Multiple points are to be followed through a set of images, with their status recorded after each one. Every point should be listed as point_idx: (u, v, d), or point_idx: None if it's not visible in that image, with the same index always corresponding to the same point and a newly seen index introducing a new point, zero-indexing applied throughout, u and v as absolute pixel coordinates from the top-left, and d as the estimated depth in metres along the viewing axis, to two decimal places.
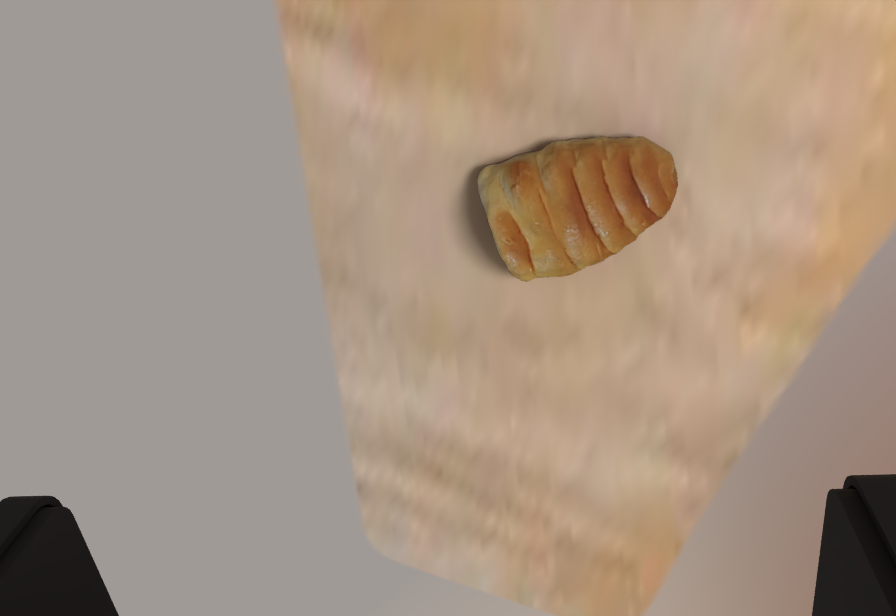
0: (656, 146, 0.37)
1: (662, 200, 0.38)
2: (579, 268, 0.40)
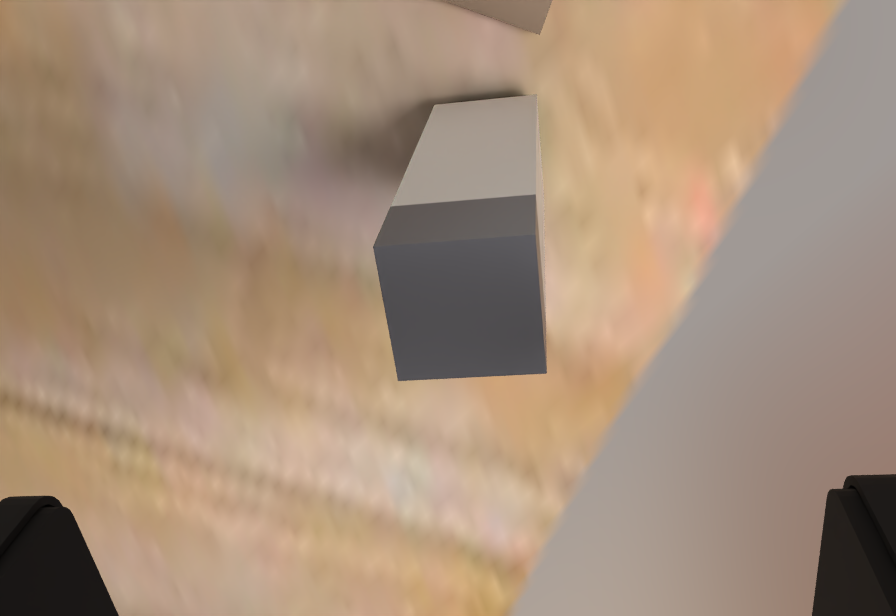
0: None
1: None
2: None
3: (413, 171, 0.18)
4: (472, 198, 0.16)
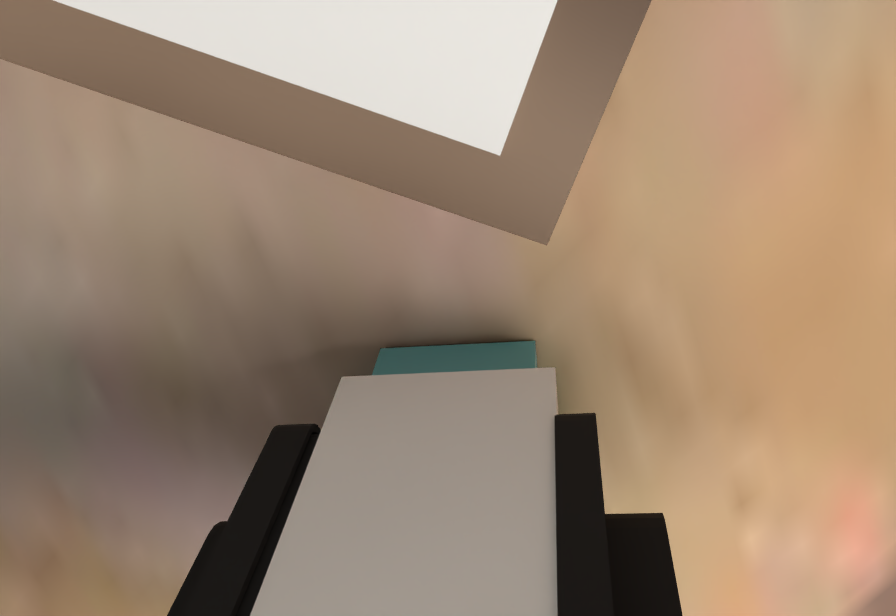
0: None
1: None
2: None
3: None
4: None
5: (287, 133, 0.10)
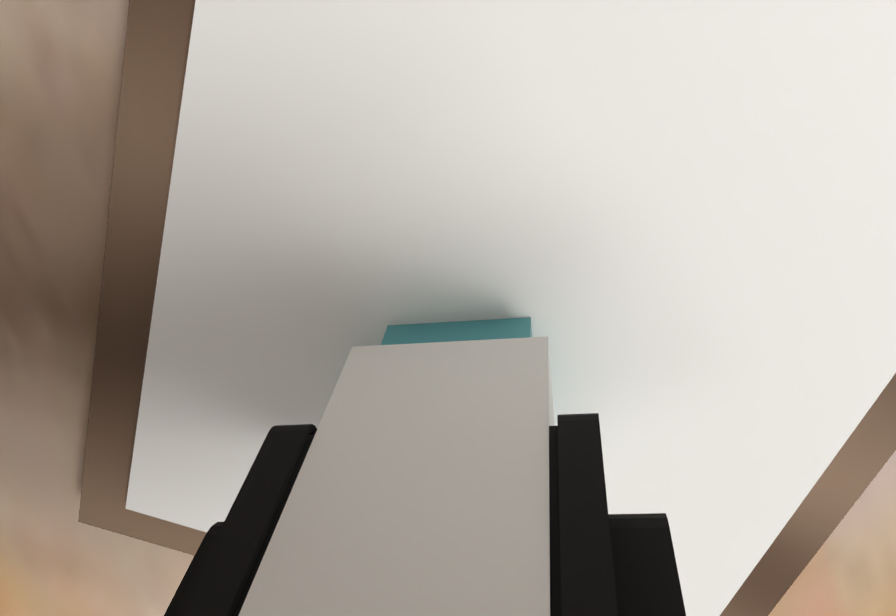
0: None
1: None
2: None
3: None
4: None
5: None
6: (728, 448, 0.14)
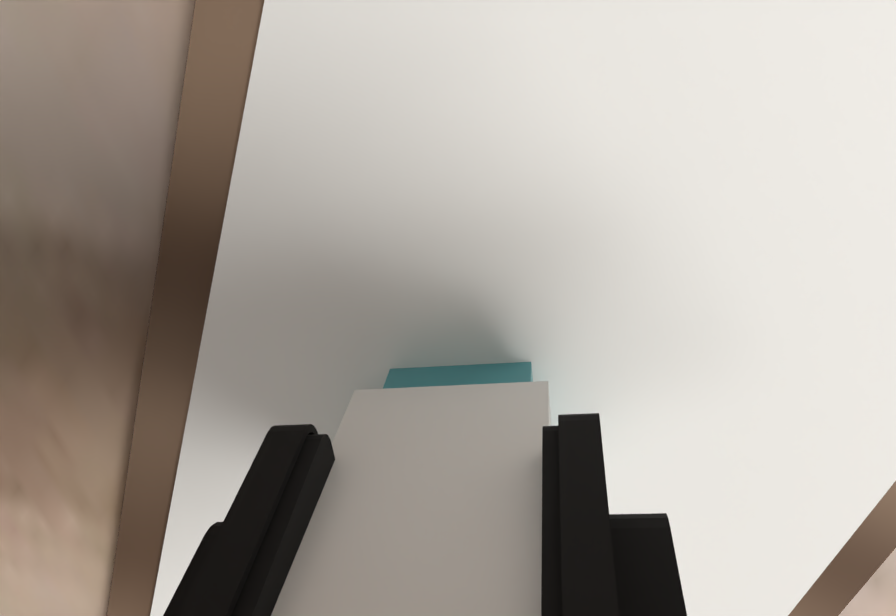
0: None
1: None
2: None
3: None
4: None
5: None
6: None
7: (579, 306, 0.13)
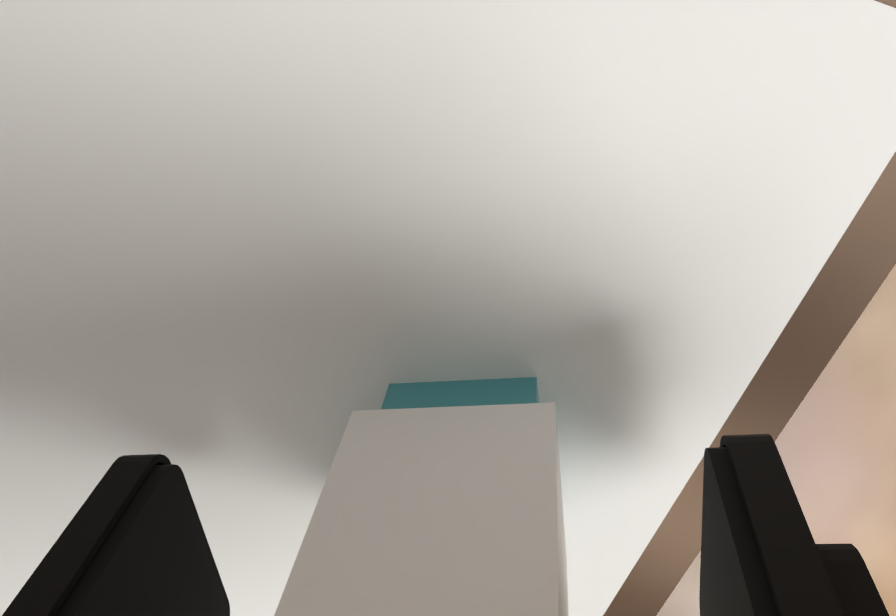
0: None
1: None
2: None
3: None
4: None
5: None
6: None
7: (328, 369, 0.13)
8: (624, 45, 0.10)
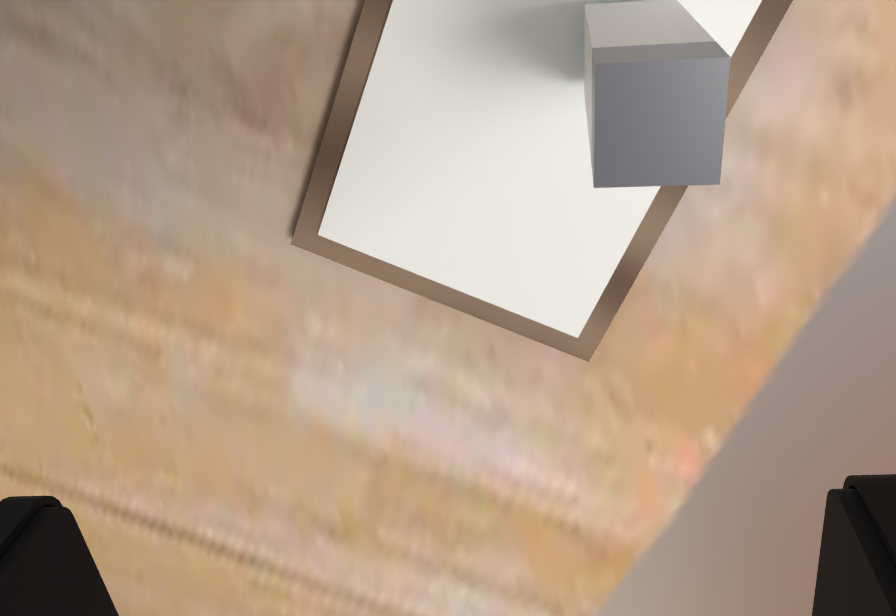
0: None
1: None
2: None
3: (596, 33, 0.22)
4: (661, 43, 0.20)
5: (516, 326, 0.35)
6: (599, 209, 0.32)
7: None
8: None
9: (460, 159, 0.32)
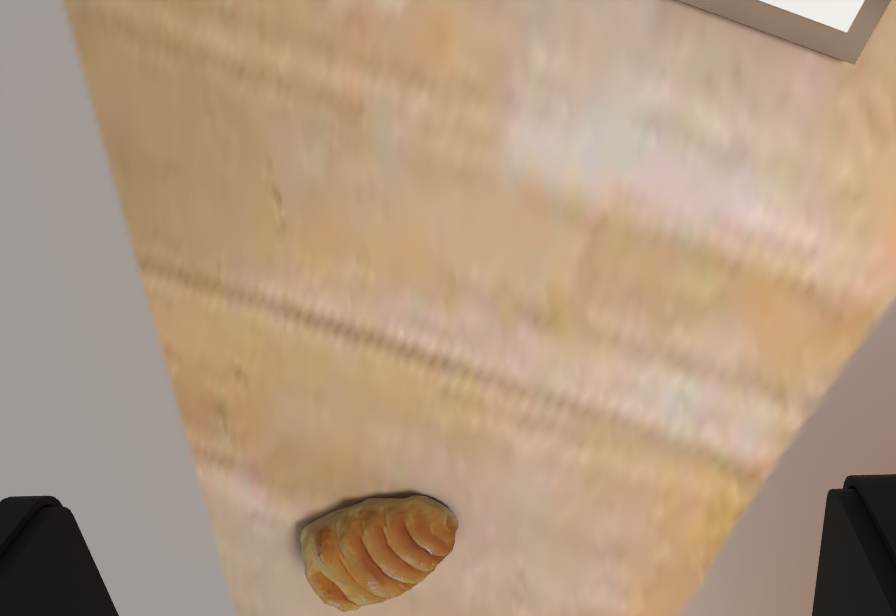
0: (427, 507, 0.45)
1: (442, 546, 0.46)
2: None
3: None
4: None
5: (775, 26, 0.32)
6: None
7: None
8: None
9: None
